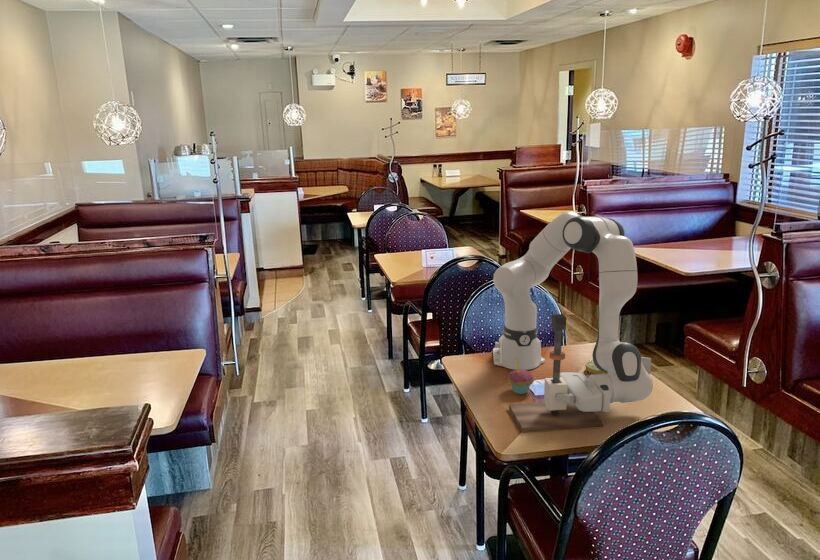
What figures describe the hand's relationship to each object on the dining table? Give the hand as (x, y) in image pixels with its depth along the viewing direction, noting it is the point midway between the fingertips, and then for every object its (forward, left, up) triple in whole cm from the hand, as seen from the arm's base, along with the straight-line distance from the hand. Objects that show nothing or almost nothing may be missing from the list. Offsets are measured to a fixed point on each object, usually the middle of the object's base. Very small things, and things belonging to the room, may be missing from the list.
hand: (552, 392), depth 188 cm
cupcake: (-20, -4, -9) cm, 22 cm away
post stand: (0, +1, -8) cm, 8 cm away
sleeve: (0, +1, -4) cm, 5 cm away
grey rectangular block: (-19, +36, -9) cm, 42 cm away
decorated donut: (-31, +28, -9) cm, 43 cm away
